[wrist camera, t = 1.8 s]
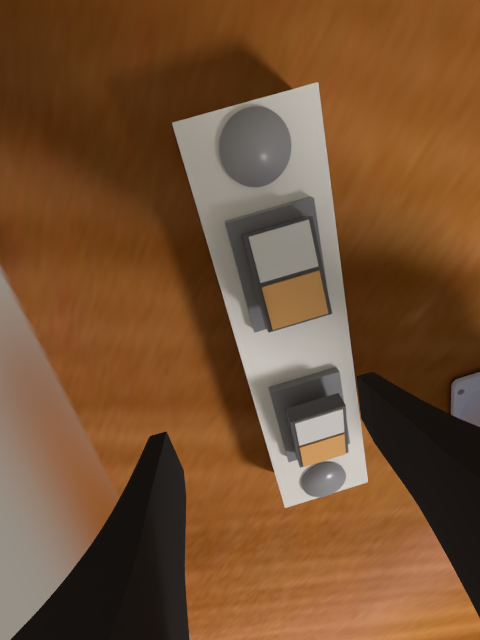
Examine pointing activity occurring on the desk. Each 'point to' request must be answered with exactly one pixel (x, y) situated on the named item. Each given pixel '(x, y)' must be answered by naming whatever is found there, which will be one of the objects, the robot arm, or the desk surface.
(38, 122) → the desk surface
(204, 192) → the rocker switch panel
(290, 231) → the rocker
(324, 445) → the rocker
